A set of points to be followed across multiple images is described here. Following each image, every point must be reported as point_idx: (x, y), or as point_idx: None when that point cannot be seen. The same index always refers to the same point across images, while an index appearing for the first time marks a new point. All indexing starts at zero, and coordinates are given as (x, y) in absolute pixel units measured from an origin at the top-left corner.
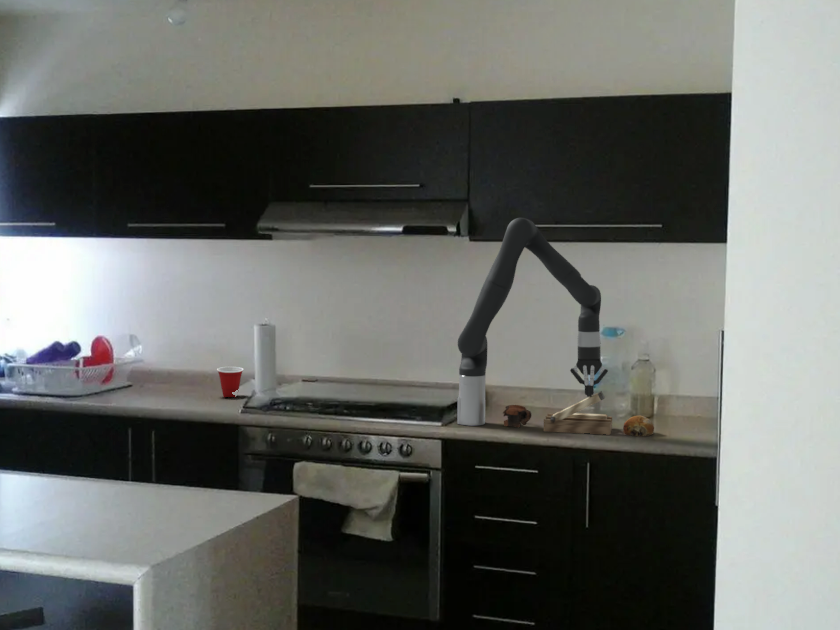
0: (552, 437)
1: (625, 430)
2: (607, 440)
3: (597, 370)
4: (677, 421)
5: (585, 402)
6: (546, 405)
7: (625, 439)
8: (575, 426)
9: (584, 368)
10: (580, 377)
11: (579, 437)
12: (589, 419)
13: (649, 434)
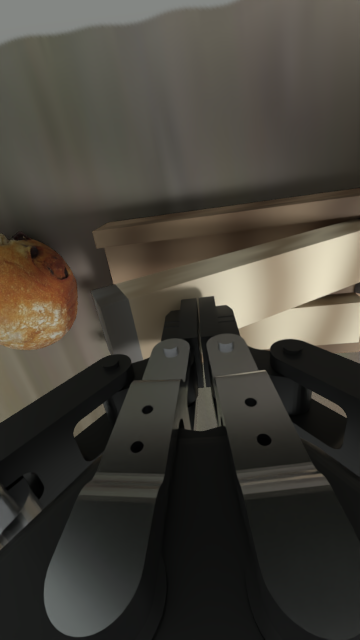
0: (356, 19)
1: (53, 255)
2: (78, 77)
3: (47, 507)
4: None
5: (218, 266)
6: None
7: (22, 147)
8: (253, 206)
9: (309, 515)
10: (314, 432)
11: (216, 96)
12: None
13: None
